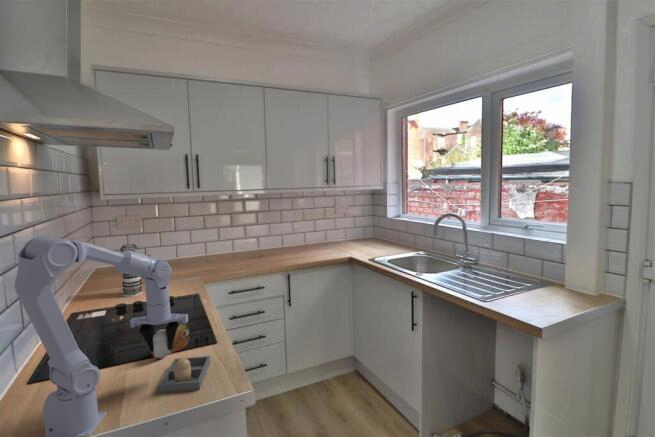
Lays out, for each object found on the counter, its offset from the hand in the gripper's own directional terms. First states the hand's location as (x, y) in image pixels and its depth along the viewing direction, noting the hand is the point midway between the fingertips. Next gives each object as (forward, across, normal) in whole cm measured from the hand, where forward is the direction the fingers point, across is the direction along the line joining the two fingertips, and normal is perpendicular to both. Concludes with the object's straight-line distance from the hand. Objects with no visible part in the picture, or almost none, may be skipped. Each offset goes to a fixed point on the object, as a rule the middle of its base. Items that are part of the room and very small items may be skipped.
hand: (162, 349), depth 98 cm
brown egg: (+9, -6, +4) cm, 11 cm away
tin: (+9, +3, -17) cm, 19 cm away
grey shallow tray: (+9, -6, 0) cm, 11 cm away
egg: (+1, 0, 0) cm, 1 cm away
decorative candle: (+10, +40, -83) cm, 93 cm away
